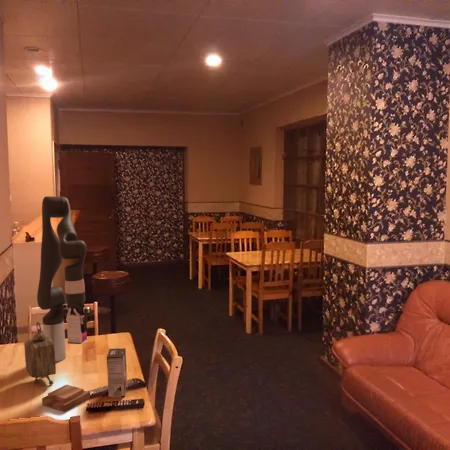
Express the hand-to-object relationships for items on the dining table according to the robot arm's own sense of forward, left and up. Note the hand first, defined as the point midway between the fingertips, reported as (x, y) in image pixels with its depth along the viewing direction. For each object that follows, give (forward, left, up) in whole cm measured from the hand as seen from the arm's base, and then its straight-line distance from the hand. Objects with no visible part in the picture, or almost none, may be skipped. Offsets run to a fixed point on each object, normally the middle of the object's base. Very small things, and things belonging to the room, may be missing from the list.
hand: (77, 331), depth 201 cm
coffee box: (+19, +1, -22) cm, 29 cm away
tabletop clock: (-16, -6, -22) cm, 28 cm away
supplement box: (0, 0, -5) cm, 5 cm away
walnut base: (+7, -14, -22) cm, 27 cm away
